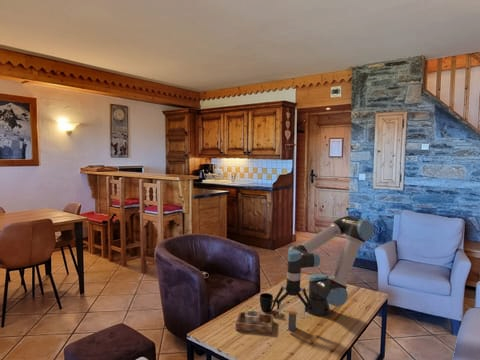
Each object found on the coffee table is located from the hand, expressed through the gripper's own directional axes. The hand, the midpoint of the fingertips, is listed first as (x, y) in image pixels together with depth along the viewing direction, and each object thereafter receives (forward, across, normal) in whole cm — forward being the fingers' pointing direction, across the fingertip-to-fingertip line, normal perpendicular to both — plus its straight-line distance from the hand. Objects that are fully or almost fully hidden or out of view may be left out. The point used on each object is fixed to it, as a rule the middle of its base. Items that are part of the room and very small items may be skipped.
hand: (291, 315), depth 183 cm
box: (+8, +20, +1) cm, 22 cm away
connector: (+8, 0, 0) cm, 8 cm away
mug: (+8, +14, -18) cm, 25 cm away
